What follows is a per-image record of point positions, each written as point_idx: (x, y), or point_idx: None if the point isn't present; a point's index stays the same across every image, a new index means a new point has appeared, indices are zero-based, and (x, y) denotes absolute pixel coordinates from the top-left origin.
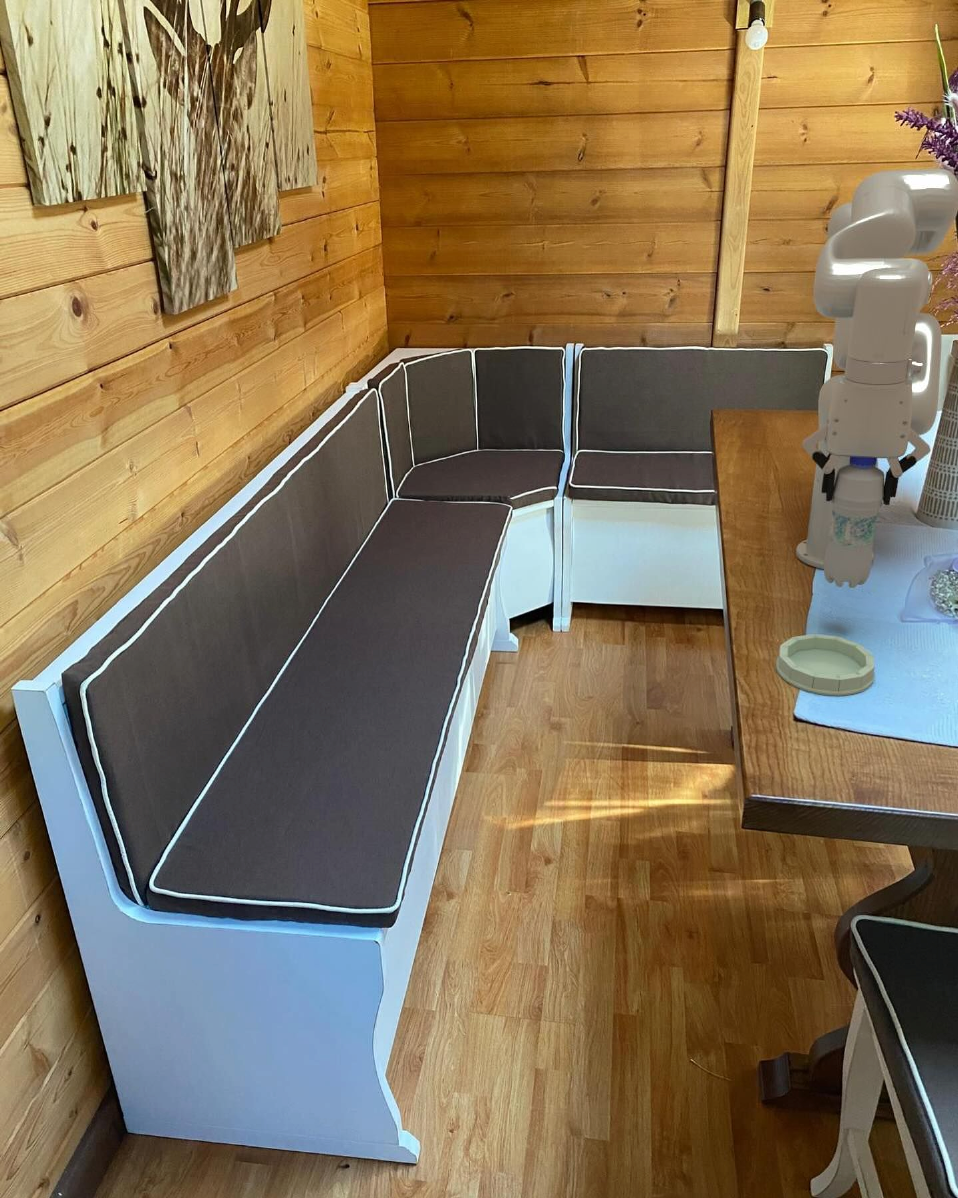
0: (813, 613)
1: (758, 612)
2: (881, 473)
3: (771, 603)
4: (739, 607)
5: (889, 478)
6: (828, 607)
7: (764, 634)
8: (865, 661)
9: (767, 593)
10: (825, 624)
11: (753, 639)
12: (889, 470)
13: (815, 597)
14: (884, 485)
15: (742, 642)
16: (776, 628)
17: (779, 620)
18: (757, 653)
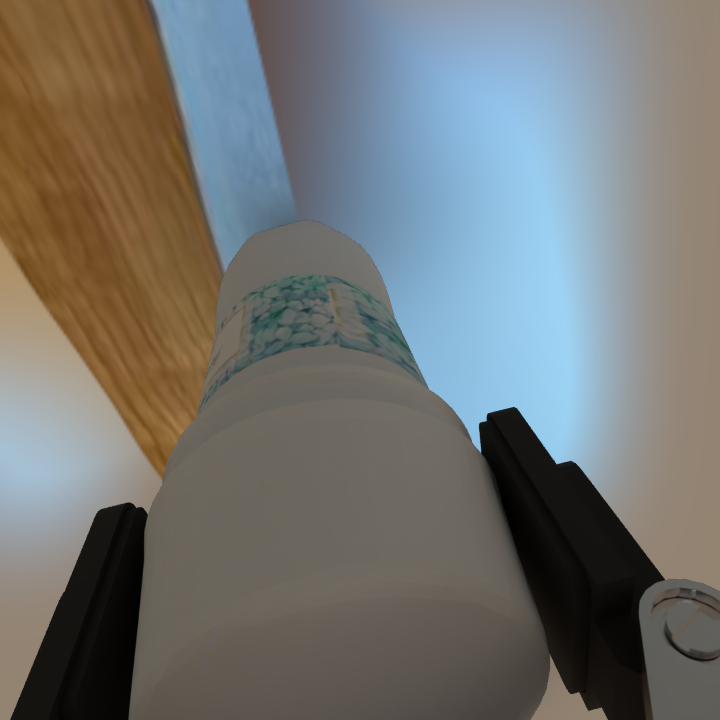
0: (211, 171)
1: (70, 236)
2: (531, 713)
3: (71, 157)
4: (4, 229)
5: (583, 692)
6: (237, 106)
7: (146, 347)
8: None
9: (19, 80)
10: (262, 226)
11: (135, 381)
12: (609, 685)
13: (175, 39)
14: (515, 498)
15: (120, 404)
16: (158, 305)
17: (144, 258)
18: (172, 430)
